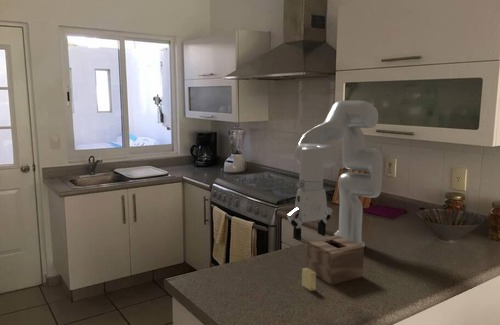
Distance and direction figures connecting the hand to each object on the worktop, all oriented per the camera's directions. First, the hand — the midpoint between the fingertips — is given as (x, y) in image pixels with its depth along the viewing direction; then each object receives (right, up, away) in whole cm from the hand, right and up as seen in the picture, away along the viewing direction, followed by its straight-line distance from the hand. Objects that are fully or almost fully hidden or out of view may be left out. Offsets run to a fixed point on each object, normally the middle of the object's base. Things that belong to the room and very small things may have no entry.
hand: (309, 236), depth 136 cm
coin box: (+11, -16, +14) cm, 24 cm away
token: (0, -17, +3) cm, 18 cm away
